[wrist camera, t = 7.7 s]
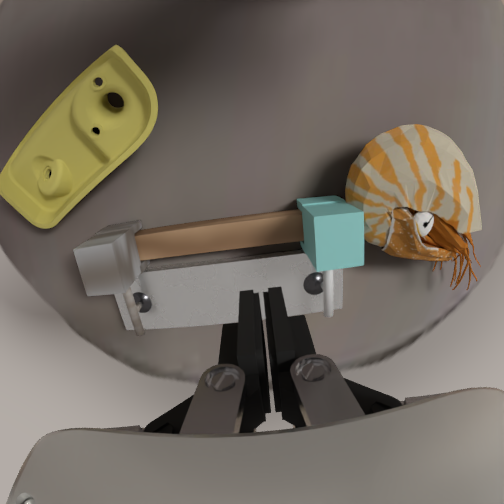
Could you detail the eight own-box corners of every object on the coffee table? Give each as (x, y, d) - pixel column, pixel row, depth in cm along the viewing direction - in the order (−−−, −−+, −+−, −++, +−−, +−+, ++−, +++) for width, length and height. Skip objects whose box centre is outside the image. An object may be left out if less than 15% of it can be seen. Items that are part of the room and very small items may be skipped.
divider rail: (108, 225, 29) (72, 247, 22) (346, 193, 29) (377, 208, 21) (134, 317, 33) (111, 357, 25) (347, 294, 32) (372, 331, 25)
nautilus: (474, 250, 32) (391, 312, 35) (421, 98, 24) (311, 165, 28) (510, 276, 24) (417, 350, 27) (466, 96, 17) (334, 178, 20)
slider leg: (296, 198, 28) (313, 214, 21) (335, 195, 28) (363, 209, 21) (303, 302, 32) (318, 341, 25) (338, 296, 32) (360, 334, 25)
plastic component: (46, 235, 27) (-14, 181, 20) (64, 199, 32) (14, 151, 25) (180, 118, 23) (110, 33, 16) (181, 99, 28) (128, 32, 21)
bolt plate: (113, 272, 31) (108, 276, 30) (339, 244, 30) (342, 248, 29) (129, 324, 33) (126, 330, 32) (339, 303, 33) (342, 308, 31)
